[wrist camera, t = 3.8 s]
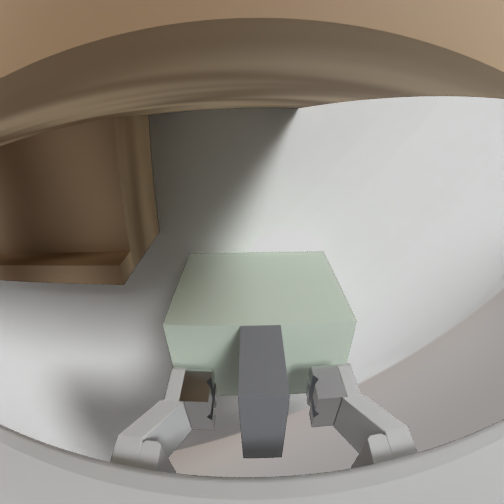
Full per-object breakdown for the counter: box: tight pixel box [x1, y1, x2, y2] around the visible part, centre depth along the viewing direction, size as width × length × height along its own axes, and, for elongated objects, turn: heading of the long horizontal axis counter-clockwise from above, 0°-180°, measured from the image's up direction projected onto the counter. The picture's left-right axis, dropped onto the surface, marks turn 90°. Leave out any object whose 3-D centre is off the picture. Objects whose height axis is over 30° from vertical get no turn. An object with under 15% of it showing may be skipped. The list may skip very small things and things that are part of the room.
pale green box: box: [163, 251, 357, 458], centre depth 13 cm, size 7×4×9 cm, turn 91°
